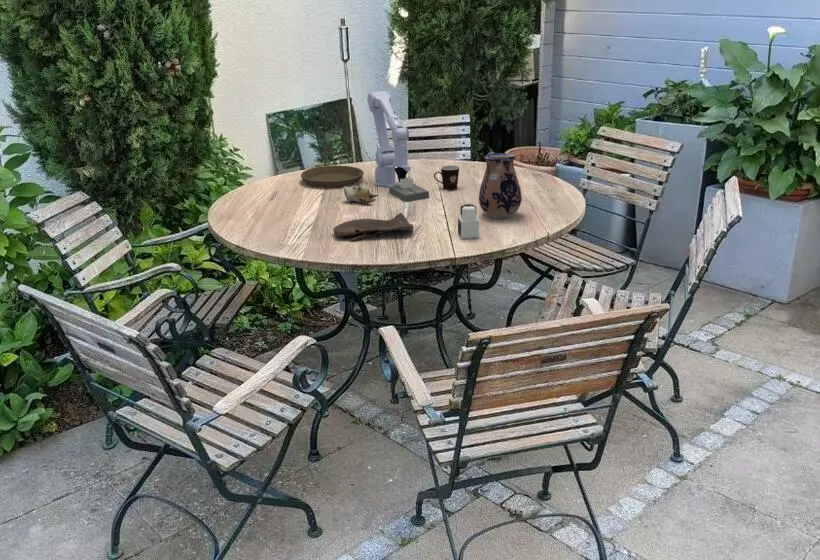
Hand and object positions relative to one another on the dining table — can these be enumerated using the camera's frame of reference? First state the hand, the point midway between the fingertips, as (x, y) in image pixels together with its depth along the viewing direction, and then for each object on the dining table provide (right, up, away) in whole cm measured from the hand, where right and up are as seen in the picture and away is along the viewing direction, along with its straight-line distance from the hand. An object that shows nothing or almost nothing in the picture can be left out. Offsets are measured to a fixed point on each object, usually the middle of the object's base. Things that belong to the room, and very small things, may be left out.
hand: (401, 183), depth 334 cm
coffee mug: (+21, -2, +5) cm, 22 cm away
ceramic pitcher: (+40, -18, -34) cm, 56 cm away
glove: (-11, -27, -50) cm, 58 cm away
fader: (+2, -2, -4) cm, 5 cm away
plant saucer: (-35, +4, +24) cm, 42 cm away
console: (+3, -6, -4) cm, 8 cm away
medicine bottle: (+26, -28, -57) cm, 69 cm away
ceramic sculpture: (-18, -10, -11) cm, 24 cm away
